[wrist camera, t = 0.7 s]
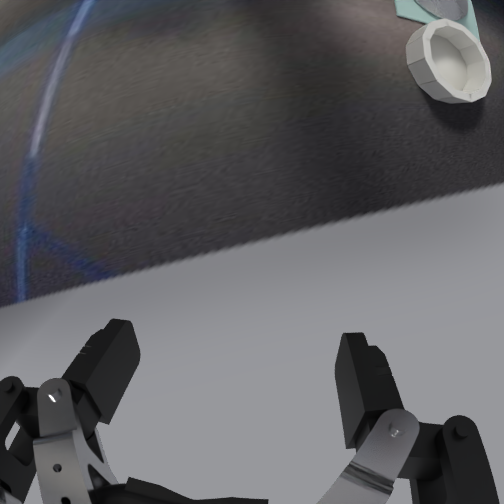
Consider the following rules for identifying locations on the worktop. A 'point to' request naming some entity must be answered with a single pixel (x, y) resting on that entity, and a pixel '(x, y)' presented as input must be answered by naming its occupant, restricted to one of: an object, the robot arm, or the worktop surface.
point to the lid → (445, 8)
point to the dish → (448, 62)
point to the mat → (414, 12)
